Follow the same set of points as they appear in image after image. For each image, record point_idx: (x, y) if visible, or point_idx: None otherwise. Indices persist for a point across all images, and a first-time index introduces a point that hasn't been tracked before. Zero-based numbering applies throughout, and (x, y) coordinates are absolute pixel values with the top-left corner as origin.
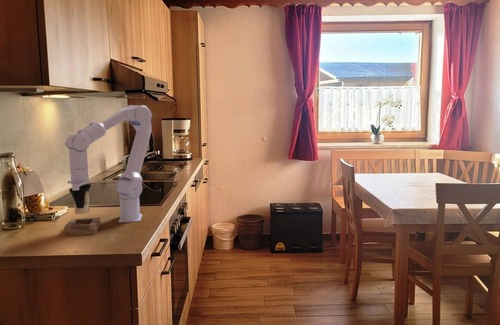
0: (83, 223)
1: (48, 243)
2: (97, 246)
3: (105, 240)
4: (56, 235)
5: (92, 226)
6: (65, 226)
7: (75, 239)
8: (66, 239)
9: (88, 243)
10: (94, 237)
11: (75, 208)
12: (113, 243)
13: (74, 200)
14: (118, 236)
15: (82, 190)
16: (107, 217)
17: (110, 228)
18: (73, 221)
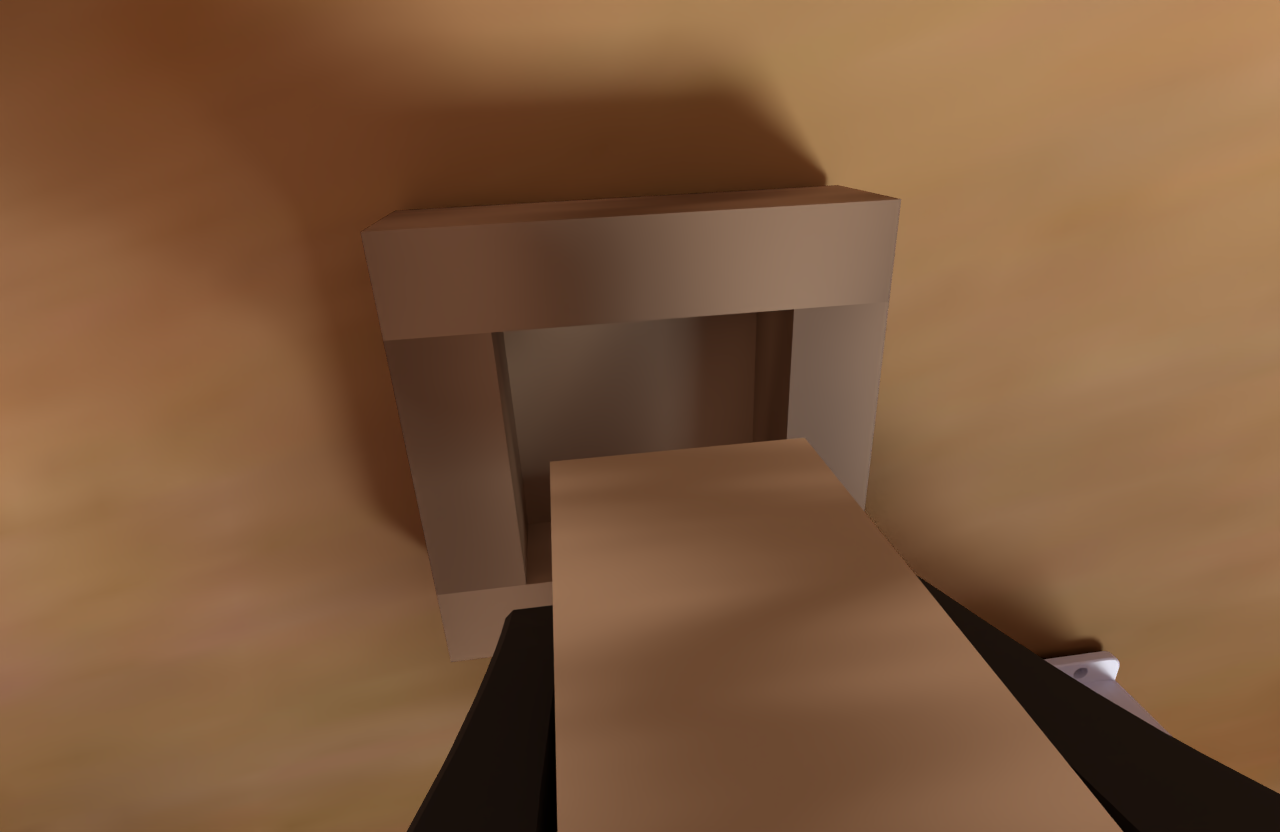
0: (768, 396)
1: (3, 44)
2: (20, 708)
3: (240, 722)
4: (441, 50)
5: (444, 623)
6: (398, 246)
7: (251, 407)
8: (242, 283)
9: (109, 598)
10: (343, 596)
11: (557, 554)
12: (148, 807)
13: (420, 810)
14: (380, 789)
15: None
16: (1134, 519)
17: None
18: (707, 296)
